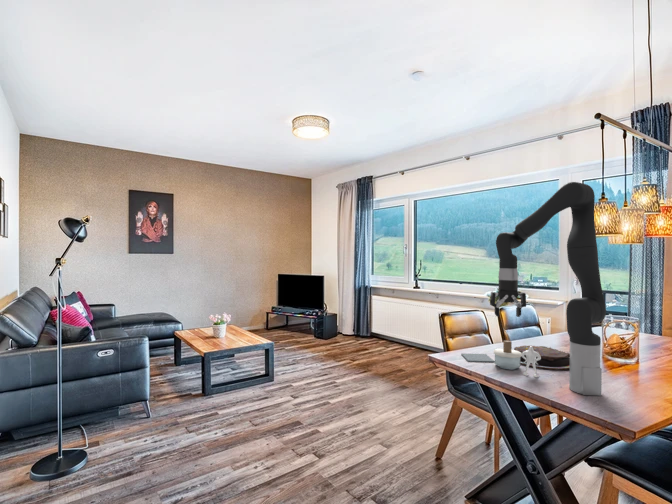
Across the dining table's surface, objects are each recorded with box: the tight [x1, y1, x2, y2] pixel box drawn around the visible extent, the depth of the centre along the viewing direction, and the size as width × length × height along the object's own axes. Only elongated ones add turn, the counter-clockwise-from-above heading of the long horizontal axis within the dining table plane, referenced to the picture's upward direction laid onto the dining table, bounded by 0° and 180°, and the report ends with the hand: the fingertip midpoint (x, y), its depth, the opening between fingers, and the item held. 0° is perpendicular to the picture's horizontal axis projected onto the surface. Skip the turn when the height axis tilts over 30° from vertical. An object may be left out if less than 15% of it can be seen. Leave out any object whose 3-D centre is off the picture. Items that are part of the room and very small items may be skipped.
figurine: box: [521, 345, 541, 378], centre depth 149 cm, size 7×4×12 cm, turn 59°
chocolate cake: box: [513, 345, 570, 371], centre depth 170 cm, size 28×28×7 cm
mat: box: [461, 352, 495, 363], centre depth 173 cm, size 12×12×1 cm
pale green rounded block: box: [494, 354, 521, 370], centre depth 160 cm, size 10×10×6 cm
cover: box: [493, 340, 522, 358], centre depth 160 cm, size 11×11×6 cm
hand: (507, 316), depth 160 cm, fingers open, 8 cm apart
